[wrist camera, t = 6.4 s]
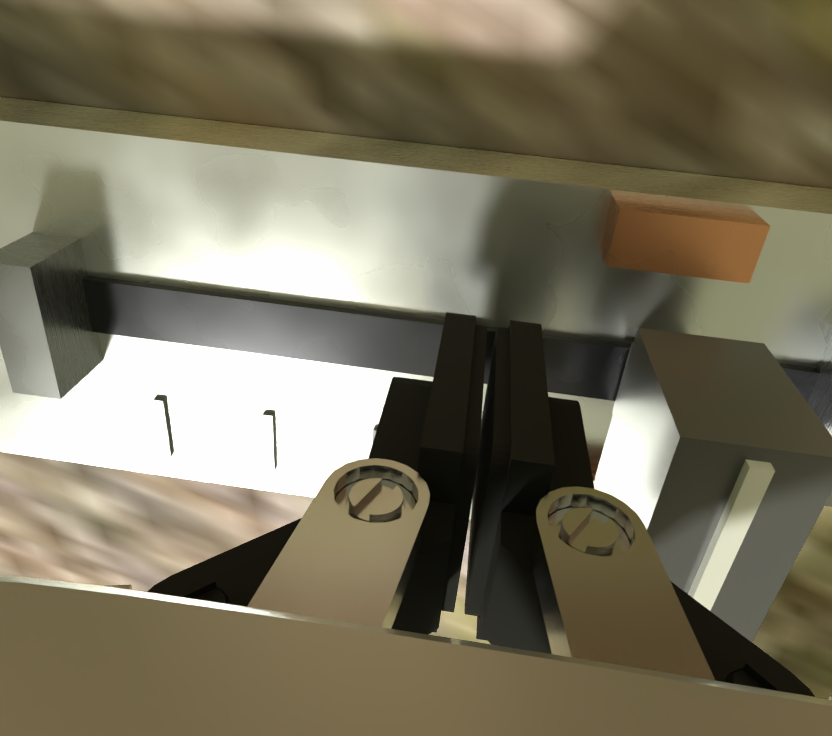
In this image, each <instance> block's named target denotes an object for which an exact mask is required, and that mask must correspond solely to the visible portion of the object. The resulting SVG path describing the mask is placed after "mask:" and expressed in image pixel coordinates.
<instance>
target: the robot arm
mask: <svg viewBox="0 0 832 736" xmlns="http://www.w3.org/2000/svg"><path fill="white" fill-rule="evenodd" d="M486 340H487V325H481V324H476V316H474V315H466V314H458V313H450V312H446V315H445V321H444V326H443V331H442V336H441V341H440V347H439V352H438V357H437V362H436V367H435V373H434V378H433V381H426V380H418V379H411V378H403V377H395V376H394V377H393V378H392V381H391V384H390V387H389V390H388V394H387V397H386V400H385V404H384V407H383V411H382V414H381V417H380V421H379V424H378V427H377V431H376V434H375V437H374V441H373V444H372V447H371V451H370V454H369V458H368V459H360V460H356V461H353V462H349V463H346V464H344V465H343V466H341V467H339V468H337V469H336V470H334V471H333V472H332V473H331V474H330V476H329V477H328V478H327V479H326V480H325V482H324V483H323V485H322V486H321V488H320V490H319V491H318V493H317V495H316V496H315V498H314V499H313V501H312V503H311V504H310V506H309V507H308V509H307V511H306V512H305V514H304V516H303V517H302V518H301V519H299V520H296V521H294V522H292V523H289V524H287V525H285V526H283V527H280V528H278V529H276V530H274V531H271V532H269V533H267V534H265V535H262V536H260V537H258V538H255V539H253V540H251V541H249V542H246V543H244V544H242V545H240V546H237V547H235V548H233V549H231V550H228V551H226V552H224V553H221V554H219V555H217V556H215V557H212V558H210V559H208V560H206V561H203V562H201V563H199V564H197V565H194V566H192V567H190V568H187V569H185V570H183V571H181V572H178V573H176V574H174V575H172V576H170V577H168V578H166V579H165V580H163V581H161V582H159V583H158V584H156V585H154V586H153V587H152V588H151V589H150V590H149V591H148V592H143V591H136V590H132V586H131V585H114V586H99V585H91V584H82V583H73V582H65V581H56V580H47V579H38V578H29V577H20V576H8V575H0V736H832V695H831V696H830V697H829V699H823V698H818V697H815V696H814V695H813V693H812V692H811V691H810V689H809V688H808V687H807V686H806V685H804V684H803V683H802V682H801V681H800V680H799V679H798V678H797V677H796V676H795V675H793V674H792V673H791V672H790V671H789V670H787V669H786V668H785V667H783V666H782V665H781V664H779V663H778V662H777V661H775V660H774V659H773V658H772V657H770V656H769V655H768V654H766V653H765V652H764V651H762V650H761V649H760V648H758V647H757V646H756V645H754V644H753V643H752V642H750V641H749V640H748V639H746V638H745V637H744V636H742V635H741V634H740V633H739V632H737V631H736V630H735V629H733V628H732V627H731V626H729V625H728V624H727V623H725V622H724V621H723V620H721V619H720V618H719V617H717V616H716V615H715V614H713V613H712V612H711V611H709V610H708V609H707V608H706V607H704V606H703V605H702V604H700V603H699V602H698V601H696V600H695V599H694V598H692V597H691V596H690V595H688V594H687V593H686V592H684V591H683V590H682V589H680V588H679V587H678V586H676V585H675V584H674V583H673V582H671V581H670V580H669V577H668V575H667V573H666V571H665V569H664V566H663V564H662V562H661V560H660V558H659V555H658V553H657V551H656V549H655V547H654V544H653V542H652V540H651V538H650V536H649V533H648V531H647V529H646V527H645V525H644V523H643V522H642V520H641V519H640V517H639V516H638V514H637V513H636V512H635V511H634V510H632V509H631V508H630V507H629V506H628V505H627V504H626V503H624V502H623V501H621V500H619V499H617V498H616V497H614V496H612V495H610V494H608V493H605V492H602V491H599V490H596V489H594V483H593V477H592V471H591V465H590V460H589V454H588V448H587V442H586V436H585V431H584V425H583V419H582V413H581V407H580V404H579V402H578V401H576V400H569V399H561V398H554V397H548V389H547V379H546V368H545V358H544V348H543V337H542V327H541V324H537V323H529V322H521V321H513V320H510V321H509V325H508V328H504V327H497V328H496V333H495V339H494V345H493V351H492V358H491V364H490V370H489V376H488V383H487V389H486V395H485V401H484V408H483V414H482V404H483V388H484V372H485V356H486ZM472 498H473V499H472ZM471 504H472V513H471V527H470V541H469V556H468V570H467V584H466V598H465V614H468V615H474V616H477V636H476V639H481V640H488V641H489V642H490V643H491V644H492V645H491V644H484V643H478V642H472V641H465V640H459V639H452V638H446V637H440V636H433V635H428V634H430V633H431V632H437V629H438V628H439V621H440V615H441V610H442V611H449V612H454V608H455V602H456V596H457V589H458V583H459V577H460V571H461V565H462V559H463V553H464V547H465V541H466V534H467V528H468V522H469V516H470V510H471Z"/></svg>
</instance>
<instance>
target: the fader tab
mask: <svg viewBox="0 0 832 736" xmlns="http://www.w3.org/2000/svg"><path fill="white" fill-rule="evenodd" d="M612 413H613V416H612V420H611V423H610V427H609V430H608V434H607V437H606V441H605V444H604V448H603V451H602V455H601V458H600V462H599V465H598V469H597V472H596V476H595V479H594V489H596V490H599V491H602V492H605V493H608V494H610V495H612V496H614V497H616V498H617V499H619V500H621V501H623V502H624V503H626V504H627V505H628V506H629V507H630V508H631V509H632V510H634V511H635V512H636V513H637V514H638V516H639V517H640V519H641V520H642V522H643V523H644V525H645V527H646V529H647V531H648V533H649V536H650V538H651V540H652V542H653V544H654V547H655V549H656V551H657V553H658V555H659V558H660V560H661V562H662V564H663V566H664V569H665V571H666V573H667V575H668V577H669V580H670V581H671V582H673V583H674V584H675V585H676V586H678V587H679V588H680V589H682V590H683V591H684V592H686V593H687V594H688V595H690V596H691V597H692V598H694V599H695V600H696V601H698V602H699V603H700V604H702V605H703V606H704V607H706V608H707V609H708V610H709V611H711V612H712V613H713V614H715V615H716V616H717V617H719V618H720V619H721V620H723V621H724V622H725V623H727V624H728V625H729V626H731V627H732V628H733V629H735V630H736V631H737V632H739V633H740V634H741V635H742V636H744V637H745V638H746V639H748V640H749V641H750V642H752V641H753V639H754V637H755V635H756V633H757V631H758V630H759V628H760V626H761V624H762V622H763V620H764V618H765V616H766V614H767V613H768V611H769V609H770V607H771V605H772V603H773V601H774V599H775V598H776V596H777V594H778V592H779V590H780V588H781V586H782V584H783V582H784V581H785V579H786V577H787V575H788V573H789V571H790V569H791V567H792V566H793V564H794V562H795V560H796V558H797V556H798V554H799V552H800V550H801V549H802V547H803V545H804V543H805V541H806V539H807V537H808V535H809V534H810V532H811V530H812V528H813V526H814V524H815V522H816V520H817V518H818V517H819V515H820V513H821V511H822V509H823V507H824V505H825V503H826V502H827V500H828V498H829V496H830V494H831V492H832V436H831V434H830V433H829V432H828V430H827V429H826V427H825V426H824V425H823V423H822V422H821V421H820V419H819V418H818V417H817V415H816V414H815V412H814V411H813V410H812V408H811V407H810V406H809V404H808V403H807V401H806V400H805V399H804V397H803V396H802V395H801V393H800V392H799V390H798V389H797V388H796V386H795V385H794V384H793V382H792V381H791V379H790V378H789V377H788V375H787V374H786V373H785V371H784V370H783V368H782V367H781V366H780V364H779V363H778V362H777V360H776V359H775V357H774V356H773V355H772V353H771V352H770V351H769V349H768V348H767V346H766V345H765V344H764V343H757V342H749V341H741V340H733V339H725V338H717V337H709V336H701V335H693V334H685V333H677V332H669V331H661V330H653V329H645V328H638V329H637V332H636V336H635V339H634V342H632V344H631V347H630V351H629V354H628V358H627V361H626V365H625V369H624V372H623V376H622V379H621V383H620V386H619V390H618V393H617V397H616V400H615V404H614V407H613V411H612Z"/></svg>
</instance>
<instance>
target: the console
mask: <svg viewBox="0 0 832 736" xmlns="http://www.w3.org/2000/svg"><path fill="white" fill-rule="evenodd" d="M446 312H450V313H458V314H466V315H474V316H476V324H481V325H487V340H486V356H485V372H484V388H483V404H482V414H483V408H484V401H485V395H486V389H487V383H488V376H489V370H490V364H491V358H492V351H493V345H494V339H495V333H496V328H497V327H504V328H508V325H509V321H510V320H513V321H521V322H529V323H537V324H541V327H542V337H543V348H544V358H545V368H546V379H547V389H548V397H554V398H561V399H569V400H576V401H578V402H579V404H580V407H581V413H582V419H583V425H584V431H585V436H586V442H587V448H588V454H589V460H590V465H591V471H592V477H593V483H594V479H595V476H596V472H597V469H598V465H599V462H600V458H601V455H602V451H603V448H604V444H605V441H606V437H607V434H608V430H609V427H610V423H611V420H612V416H613V413H612V411H613V407H614V404H615V400H616V397H617V393H618V390H619V386H620V383H621V379H622V376H623V372H624V369H625V365H626V361H627V358H628V354H629V351H630V347H631V344H632V342H634V339H635V336H636V332H637V329H638V328H645V329H653V330H661V331H669V332H677V333H685V334H693V335H701V336H709V337H717V338H725V339H733V340H741V341H749V342H757V343H764V344H765V345H766V346H767V348H768V349H769V351H770V352H771V353H772V355H773V356H774V357H775V359H776V360H777V362H778V363H779V364H780V366H781V367H782V368H783V370H784V371H785V373H786V374H787V375H788V377H789V378H790V379H791V381H792V382H793V384H794V385H795V386H796V388H797V389H798V390H799V392H800V393H801V395H802V396H803V397H804V399H805V400H806V401H807V403H808V404H809V406H810V407H811V408H812V410H813V411H814V412H815V414H816V415H817V417H818V418H819V419H820V421H821V422H822V423H823V425H824V426H825V427H826V429H827V430H828V432H829V433H830V434H831V436H832V189H829V188H820V187H811V186H802V185H793V184H784V183H775V182H766V181H757V180H748V179H739V178H729V177H720V176H711V175H702V174H693V173H684V172H675V171H666V170H657V169H648V168H639V167H630V166H621V165H612V164H603V163H594V162H584V161H575V160H566V159H557V158H548V157H539V156H530V155H521V154H512V153H503V152H494V151H485V150H476V149H467V148H458V147H449V146H439V145H430V144H421V143H412V142H403V141H394V140H385V139H376V138H367V137H358V136H349V135H340V134H331V133H322V132H313V131H303V130H294V129H285V128H276V127H267V126H258V125H249V124H240V123H231V122H222V121H213V120H204V119H195V118H186V117H177V116H168V115H158V114H149V113H140V112H131V111H122V110H113V109H104V108H95V107H86V106H77V105H68V104H59V103H50V102H41V101H32V100H23V99H13V98H4V97H0V452H5V453H12V454H19V455H26V456H33V457H40V458H46V459H53V460H60V461H67V462H74V463H81V464H88V465H95V466H102V467H108V468H115V469H122V470H129V471H136V472H143V473H150V474H157V475H164V476H170V477H177V478H184V479H191V480H198V481H205V482H212V483H219V484H226V485H232V486H239V487H246V488H253V489H260V490H267V491H274V492H281V493H288V494H294V495H301V496H308V497H315V496H316V495H317V493H318V491H319V490H320V488H321V486H322V485H323V483H324V482H325V480H326V479H327V478H328V477H329V476H330V474H331V473H332V472H333V471H334V470H336V469H337V468H339V467H341V466H343V465H344V464H346V463H349V462H353V461H356V460H360V459H368V458H369V454H370V451H371V447H372V444H373V441H374V437H375V434H376V431H377V427H378V424H379V421H380V417H381V414H382V411H383V407H384V404H385V400H386V397H387V394H388V390H389V387H390V384H391V381H392V378H393V377H394V376H395V377H403V378H411V379H418V380H426V381H433V378H434V373H435V367H436V362H437V357H438V352H439V347H440V341H441V336H442V331H443V326H444V321H445V315H446ZM472 499H473V498H472ZM824 506H832V492H831V494H830V496H829V498H828V500H827V502H826V503H825V505H824ZM471 513H472V504H471V510H470V516H469V520H471Z"/></svg>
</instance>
